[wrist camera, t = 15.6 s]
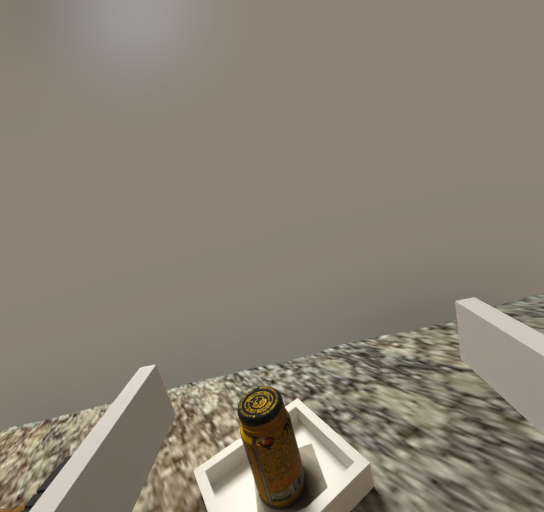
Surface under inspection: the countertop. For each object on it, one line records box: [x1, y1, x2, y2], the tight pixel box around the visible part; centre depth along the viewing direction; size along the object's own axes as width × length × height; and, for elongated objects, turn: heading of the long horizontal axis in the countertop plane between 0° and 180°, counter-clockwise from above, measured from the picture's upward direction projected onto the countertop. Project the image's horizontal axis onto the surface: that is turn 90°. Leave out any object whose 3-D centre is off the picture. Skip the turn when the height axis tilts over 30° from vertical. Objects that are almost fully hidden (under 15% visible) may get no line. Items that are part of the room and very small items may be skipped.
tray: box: [193, 398, 374, 512], centre depth 33 cm, size 17×14×4 cm
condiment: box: [238, 387, 328, 512], centre depth 32 cm, size 7×8×12 cm
